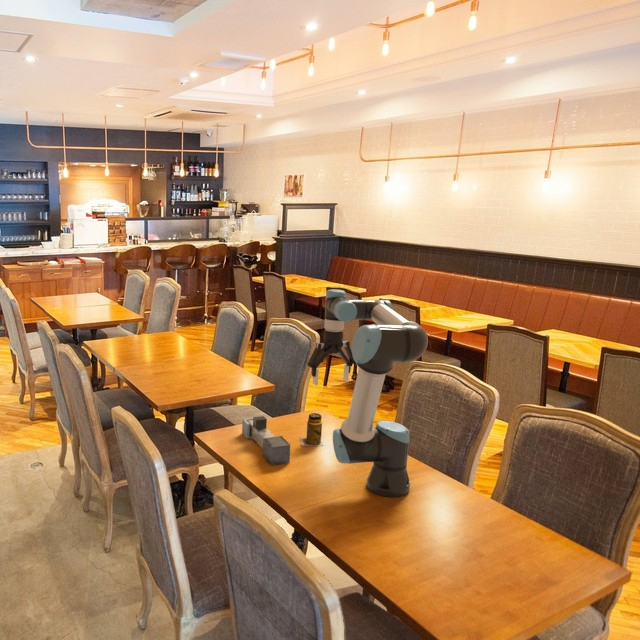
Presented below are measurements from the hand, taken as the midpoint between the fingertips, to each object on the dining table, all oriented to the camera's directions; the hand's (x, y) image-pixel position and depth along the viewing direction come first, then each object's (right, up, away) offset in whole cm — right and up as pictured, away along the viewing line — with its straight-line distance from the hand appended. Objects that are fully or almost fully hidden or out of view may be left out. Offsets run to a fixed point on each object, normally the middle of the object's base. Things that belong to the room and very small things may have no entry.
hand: (330, 382), depth 232 cm
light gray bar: (-28, -24, +7) cm, 37 cm away
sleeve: (-21, -28, -6) cm, 36 cm away
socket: (-32, -23, +16) cm, 43 cm away
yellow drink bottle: (-8, -26, +12) cm, 30 cm away
